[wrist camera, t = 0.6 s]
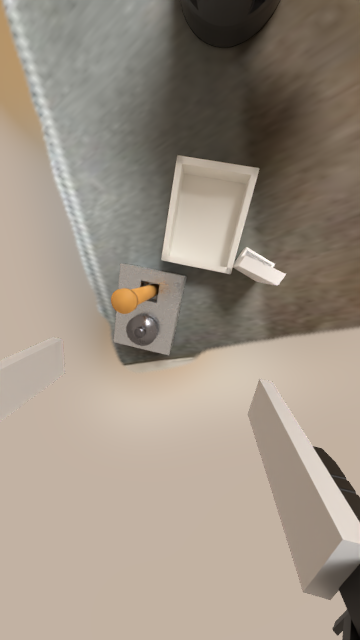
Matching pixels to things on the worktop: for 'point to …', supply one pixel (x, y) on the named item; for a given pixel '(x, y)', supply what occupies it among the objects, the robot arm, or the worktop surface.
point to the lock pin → (132, 297)
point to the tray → (207, 213)
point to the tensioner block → (150, 310)
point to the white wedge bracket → (257, 268)
